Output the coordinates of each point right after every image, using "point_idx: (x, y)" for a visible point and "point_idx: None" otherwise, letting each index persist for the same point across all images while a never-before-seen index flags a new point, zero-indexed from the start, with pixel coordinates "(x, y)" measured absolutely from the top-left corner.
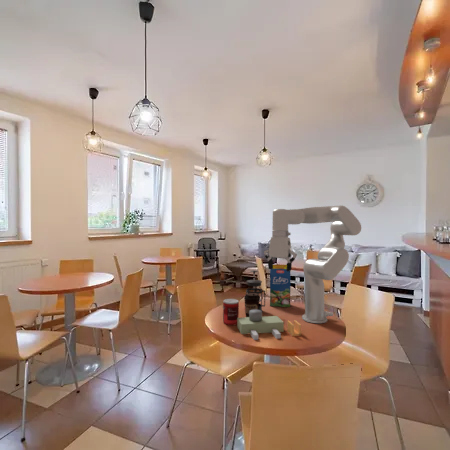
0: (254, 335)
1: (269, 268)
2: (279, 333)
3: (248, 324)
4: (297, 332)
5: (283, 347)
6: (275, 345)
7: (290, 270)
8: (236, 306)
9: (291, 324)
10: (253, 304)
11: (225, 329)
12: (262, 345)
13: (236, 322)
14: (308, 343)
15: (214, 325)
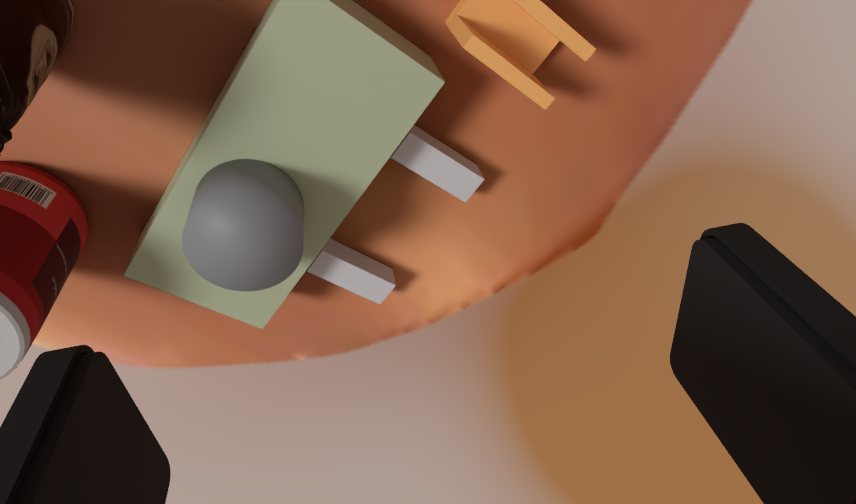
0: (381, 300)
1: (160, 485)
2: (476, 181)
3: (288, 293)
4: (540, 27)
5: (547, 240)
6: (503, 252)
7: (737, 240)
8: (38, 303)
9: (531, 98)
10: (24, 110)
11: (139, 310)
12: (453, 296)
13: (84, 217)
14: (644, 100)
15: None
